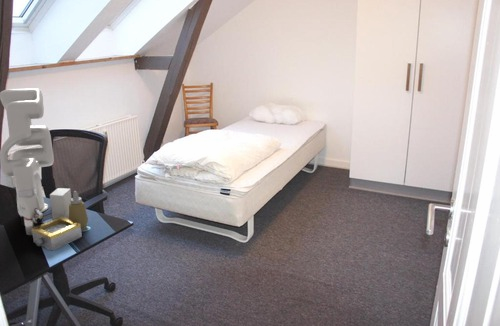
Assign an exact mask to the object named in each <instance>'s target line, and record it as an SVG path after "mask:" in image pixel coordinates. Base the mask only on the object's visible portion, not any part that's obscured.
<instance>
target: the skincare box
mask: <svg viewBox="0 0 500 326" xmlns="http://www.w3.org/2000/svg"><path fill="white" fill-rule="evenodd" d="M71 198H72V192H71V188H64V187H63V188H62V187H60V188H59V187H58V188H56V189H55V190H54V191H52V192H51V193H50V194H49V201H50V202H49V203H50V208H51V216H52V217H51V218H52V220H54V219H56V218H59V217H61V216H62V217H65V218H67V219H69V204H70V203H71V201H70V199H71Z"/></svg>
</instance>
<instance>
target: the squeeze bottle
mask: <svg viewBox="0 0 500 326" xmlns="http://www.w3.org/2000/svg"><path fill="white" fill-rule="evenodd" d="M72 195H73V196H72V197H71V199H70V201H71V203H70V204H69V219H70V220H72V221H75V222H78V223H80V225H81V231H82V230H83V229H86V227H87V226H88V222H89V218H88V217H89V216H88V212H87V208H86V205H85V202H84V201H83V199H82V197H80V196H79V194H78V192H77V190H74V191H73V194H72Z"/></svg>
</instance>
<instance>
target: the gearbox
mask: <svg viewBox="0 0 500 326" xmlns="http://www.w3.org/2000/svg"><path fill="white" fill-rule="evenodd" d="M43 223H44V224H41V225H39V226H36V227H34V228H32V234H33V235H32V238H33V243H35V245H36V246H37V247H43V248H44V249H45V248H46V249H48V250H50V251H55V250H57V249H60V248H62V247H64V246H66V245H68V244H69V243H72V242H74V241H76V240H79V239H81V238H83V235H82V230H81V225H80V223H78V222H75V221H72V220H70V219H67V218H65V217H62V216H61V217H59V218H56V219H54V220H53V219H52V220H49V221H47V222H43Z"/></svg>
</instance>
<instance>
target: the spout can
mask: <svg viewBox="0 0 500 326" xmlns="http://www.w3.org/2000/svg"><path fill="white" fill-rule="evenodd" d="M34 216H36V215H34ZM37 218H38V217H36V220H37ZM24 222H25V225H24V226H25V227H24V229H25V233H26V235H28V236H33V234H32V228H34V223H35V222H34V220H33V218H32V219H28V218H26V217H24ZM44 223H45V222H43V221H42V224H44Z"/></svg>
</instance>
